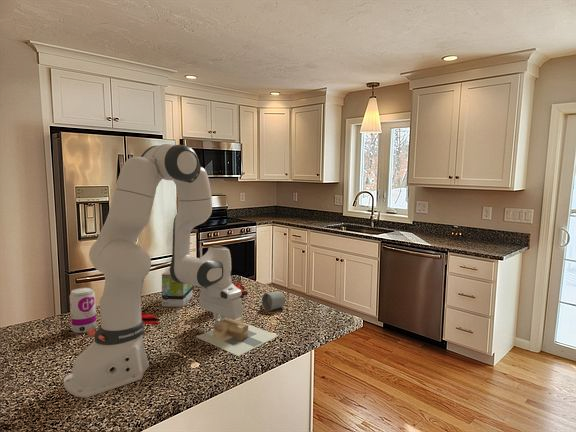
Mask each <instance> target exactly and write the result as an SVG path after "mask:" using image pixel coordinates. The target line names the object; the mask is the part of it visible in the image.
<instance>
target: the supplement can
mask: <svg viewBox="0 0 576 432" xmlns="http://www.w3.org/2000/svg"><path fill="white" fill-rule="evenodd" d="M68 298H69V310H70V311H69V312H70V328H71V329H70V330H71V331H72V332H73V333H74V334H84V333H87V331H89V329H90V328H93V329H94V330H95V328H96V327H97V312H96V309H97V308H96V307H97V306H96V292H95V291H94V289H93V288H92V287H79V288H75V289H72V290H71V291H70V294H69V297H68Z"/></svg>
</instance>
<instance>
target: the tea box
mask: <svg viewBox="0 0 576 432" xmlns="http://www.w3.org/2000/svg"><path fill="white" fill-rule="evenodd" d="M192 297H193V285H190V284H183V283H177V282H175V281H174V280H173V279H172V277H171V275H170V268H169V269H167V270H166V271H164V272H162V274H161V306H162V307H166V308H167V307H169V308H170V307H172V308H174V307H175V308H183V307H184V306H186V304H187V303H188V301H190V299H192Z"/></svg>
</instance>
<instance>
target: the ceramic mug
mask: <svg viewBox="0 0 576 432" xmlns="http://www.w3.org/2000/svg"><path fill="white" fill-rule="evenodd" d="M285 304H286V295H284V293H283V292H282V291H278V290H277V291H272V292H264V293H263V295H262V296H261V305H262V307H263V309H264V310H265V311H267V312H271V311H274V310H277V309H281V308H283V307H284V306H285Z"/></svg>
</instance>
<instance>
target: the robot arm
mask: <svg viewBox="0 0 576 432" xmlns="http://www.w3.org/2000/svg"><path fill="white" fill-rule="evenodd" d="M162 180H165V181H172V182H173V183H174V184H175V186H176V190H177V191H176V192H177V212H176V215H174V219H173V225H172V255H171V261H170V266H169V267H170V268H169V269H170V275H171V277H172V279H173V280H174V281H175V282H177V283H183V284H190V285H192V286H193V287H200V293H199V296H198V297H199V298H198V306H199V307H200V309H202V310H205V311H207V312H210V313H212V315H213V318H214V320H215V323H218V322H220V321H223V320H226V319H228V318H230V319H233V320H236V319H238V318H240V317H243V301H242V298H240V297H239V296H241V295H242V291H241V290H240V289H238V288H237V287H236V286H235V285H234V284H232V283H233V282H232V275H231V276H230V273H231V274H232V257H231V256H232V255H231V251H230V249H229V248H228V247H226V246H218V245H210V246H208V248H207V251H206V252H205V254H203V255H202V256H201V257H195V256H193V255H192V254H191V251H190V250H191V249H190V248H191V232H192V231H193V229H194V228H195V227H198V226H199V225H202V224H204V223H205V222H206V221H207V220H209V218H210V217H211V216H212V213H213V212H212V211H213V199H212V197H213V196H212V188H211V184H210V179H209V175H208V172H207V170H206V169H205V168H204V167H203V166H201V163H200V159H199V158H198V155H197V153H196V151H195V150H194V149H192V148H191V147H190V146H187V145H183V144H170V143H167V144H159V145H158V144H157V145H153V146H150V147H148V148H147V149H145V150H144V152H143V153H142V154H141V155H140V156H132V157H130V158H128V159H127V160H125V162H124V165H123V166H122V168H121V170H120V171H119V176H118V178H117V181H116V184H115V188H114V191H113V196H112V199H111V203H110V207H109V210H108V215H107V216H106V220H105V222H104V224H103V225H102V227H101V230H100V232H99V235H98V236H97V239H96V241H95V242H94V243H92V245H91V247H90V248H89V251H88V258H89V261H90V263H91V264H92V266H93V268H94V269H95V270H96V271H98V272H100V273H102V274H103V276H104V286H103V292H102V296H101V297H100V298H99V317H100V318H99V319H100V325H99V327H98V329H97V330H96V329H95V328H94V329H93V328H90V329H89V331H87V332H86V333H87V335H88V336H90V337H92V338H93V337H94V340H93V341H92V342H91V343H90V344H89V345H88V346H87V347H86V348H85V349H84V350H83V351H82V352H81V353H80V354H79V355H77V357H76V358H75V359H74V362H73V365H72V373H69V374H67V375H66V376H64V378H63V387H64V389H65V390H66V392H68V393H70V394H71V395H73V396H74V397H78V398H89V397H93V396H96V395H98V394H102V393H104V392H107V391H111V390H114V389H116V388H119V387H122V386H125V385H128V384H131V383H134V382H138V381H140V380H141V379H143V378H144V374H145V372H146V370H148V369H149V367H150V362H149V360H148V357H147V354H146V349H145V343H144V338H143V337H144V335H145V334H144V333H145V332H144V329H145V328H144V324H143V321H144V320H142V318H141V312H142V291H143V287H144V286H143V285H144V283H145V279H146V277H148V274H149V273H150V270H151V267H152V259H151V255H149V253H148V252H147V251H146V250H145V249H144V248H143V247H142V246H140V245H139V244H136V243H137V241H138V238H139V237H140V235H141V233H142V231H143V230H144V229H146V227H147V225H148V224H149V221H150V218H151V215H152V210H153V206H154V201H155V197H156V194H157V193H156V192H157V187H158V186H159V184H160V183H161V181H162Z"/></svg>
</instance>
